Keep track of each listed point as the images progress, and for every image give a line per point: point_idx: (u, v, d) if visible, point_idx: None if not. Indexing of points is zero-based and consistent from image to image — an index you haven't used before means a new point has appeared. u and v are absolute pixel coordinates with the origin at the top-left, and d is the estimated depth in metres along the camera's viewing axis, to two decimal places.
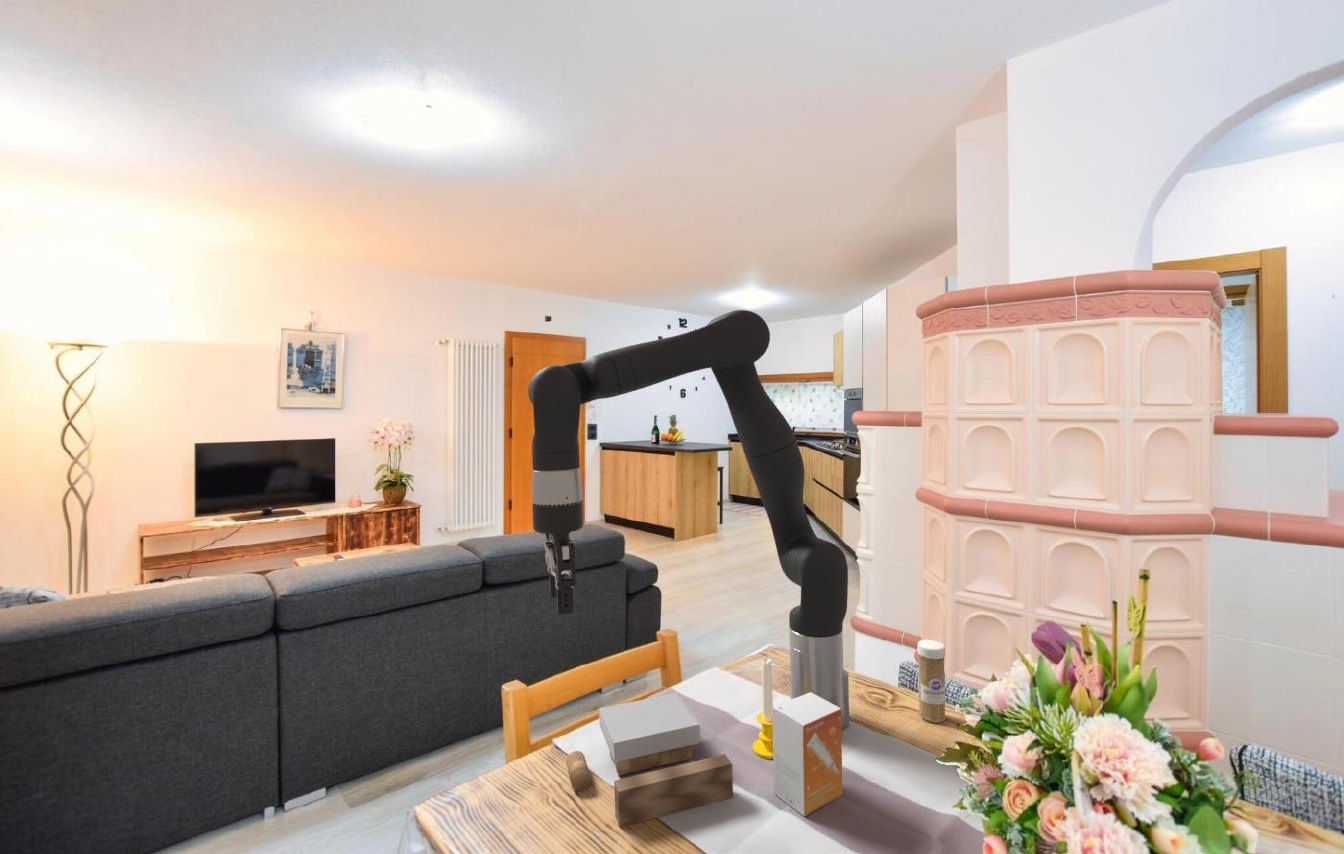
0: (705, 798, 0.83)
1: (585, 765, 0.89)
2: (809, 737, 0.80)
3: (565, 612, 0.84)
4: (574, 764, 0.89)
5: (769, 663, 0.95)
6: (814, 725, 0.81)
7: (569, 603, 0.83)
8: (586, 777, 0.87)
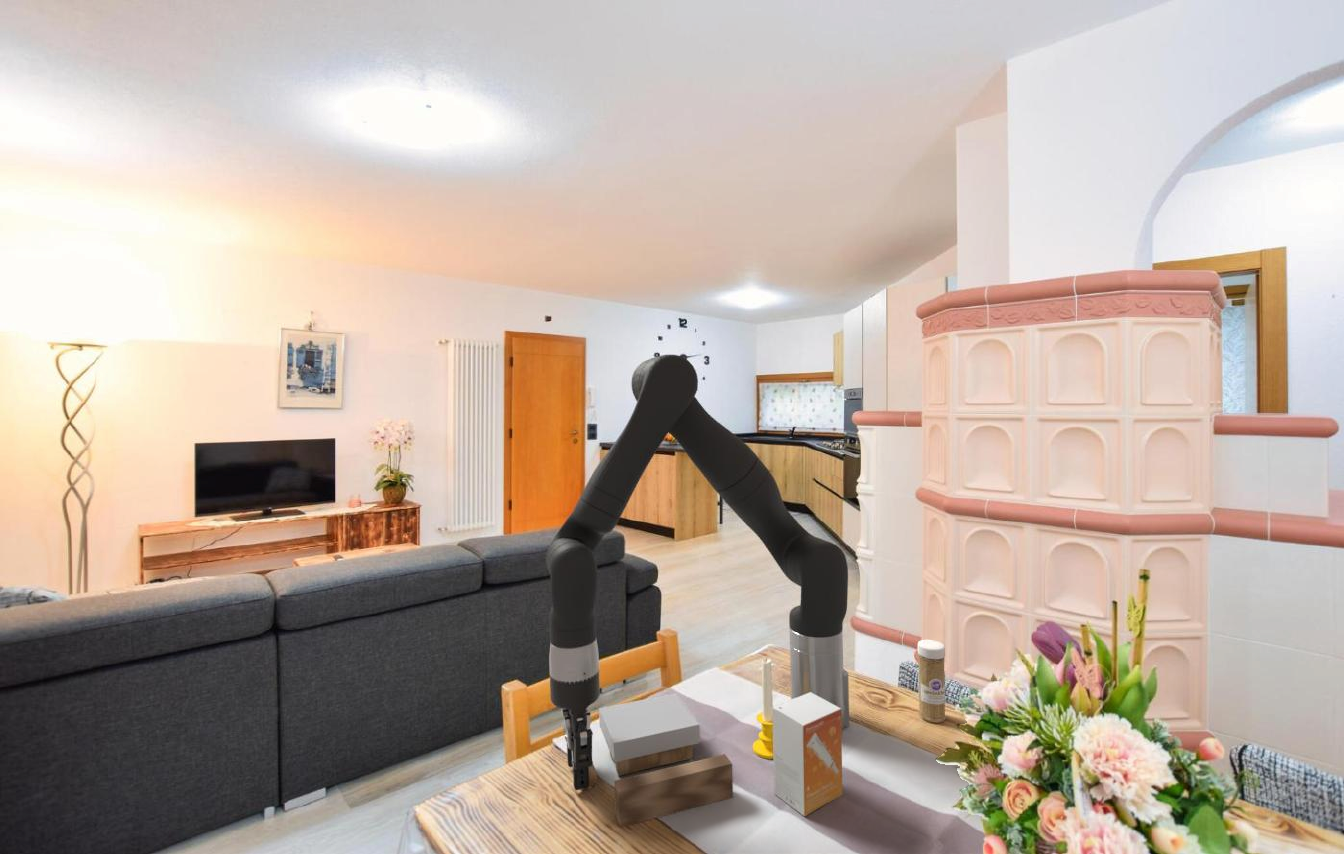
0: (705, 798, 0.83)
1: (594, 768, 0.90)
2: (809, 737, 0.80)
3: (581, 787, 0.87)
4: None
5: (769, 663, 0.95)
6: (814, 725, 0.81)
7: (585, 779, 0.86)
8: (593, 779, 0.88)
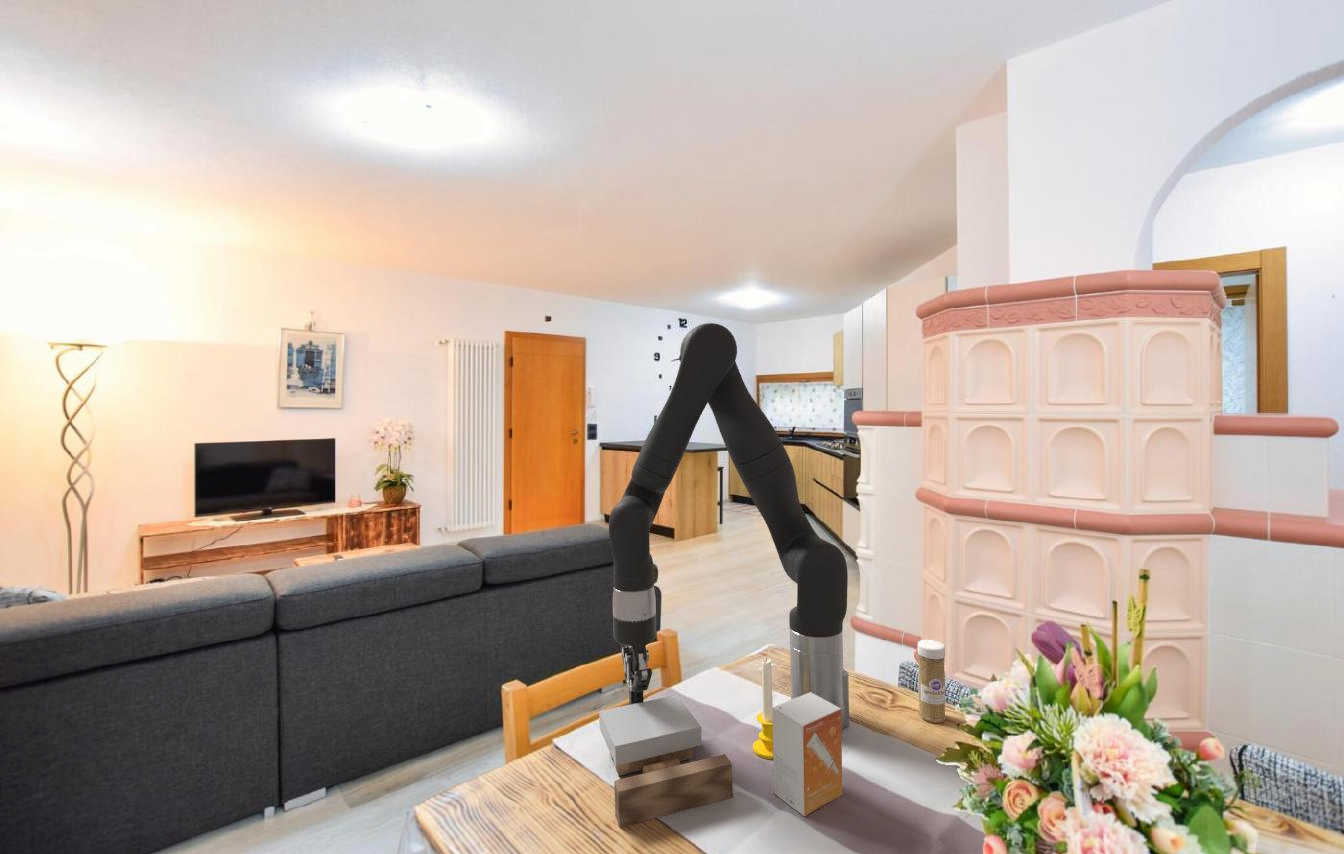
0: (705, 798, 0.83)
1: (657, 767, 0.88)
2: (809, 737, 0.80)
3: None
4: None
5: (769, 663, 0.95)
6: (814, 726, 0.81)
7: None
8: None
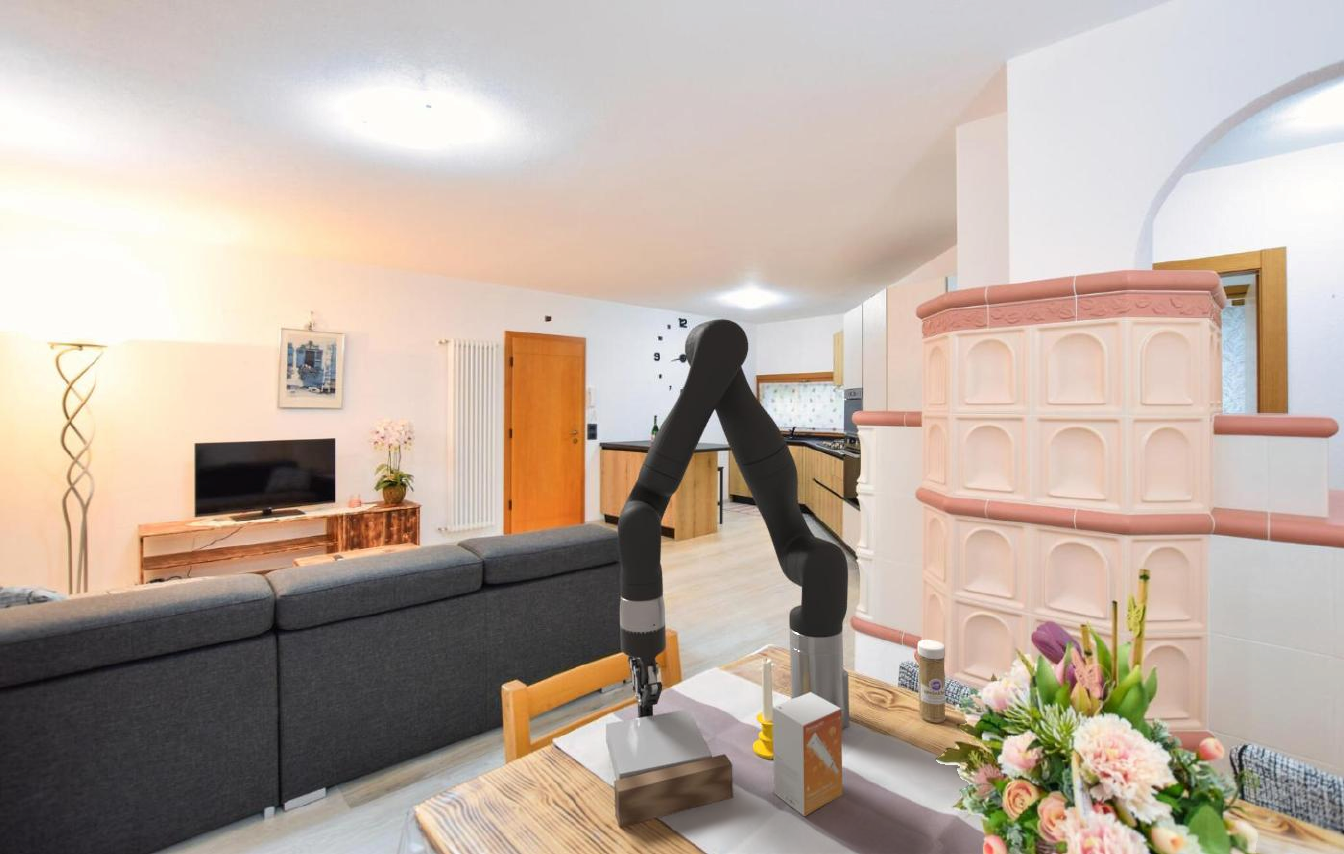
0: (705, 798, 0.83)
1: None
2: (809, 737, 0.80)
3: None
4: None
5: (769, 663, 0.95)
6: (814, 725, 0.81)
7: None
8: None
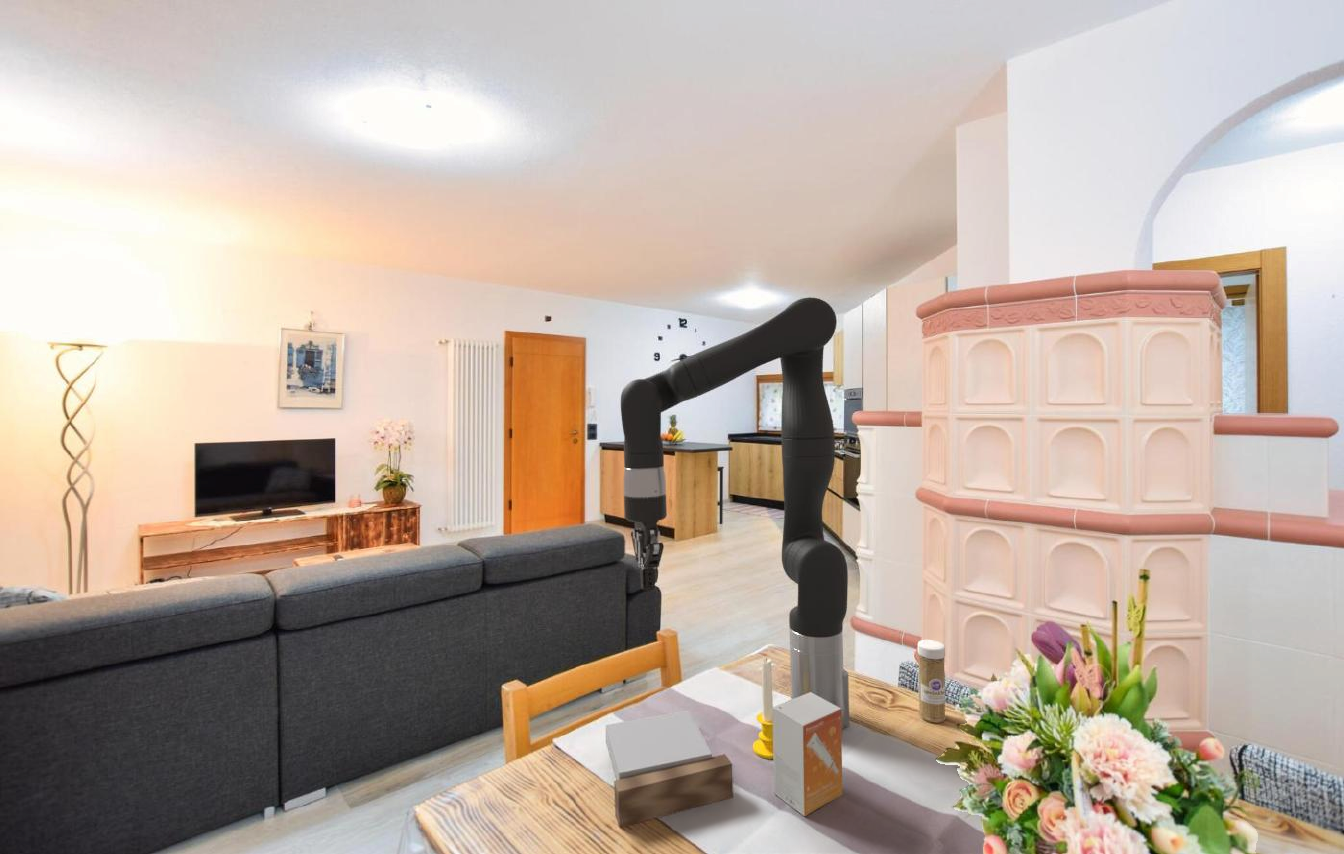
0: (705, 798, 0.83)
1: None
2: (809, 737, 0.80)
3: (648, 588, 1.03)
4: None
5: (769, 663, 0.95)
6: (814, 726, 0.81)
7: (652, 581, 1.02)
8: None
